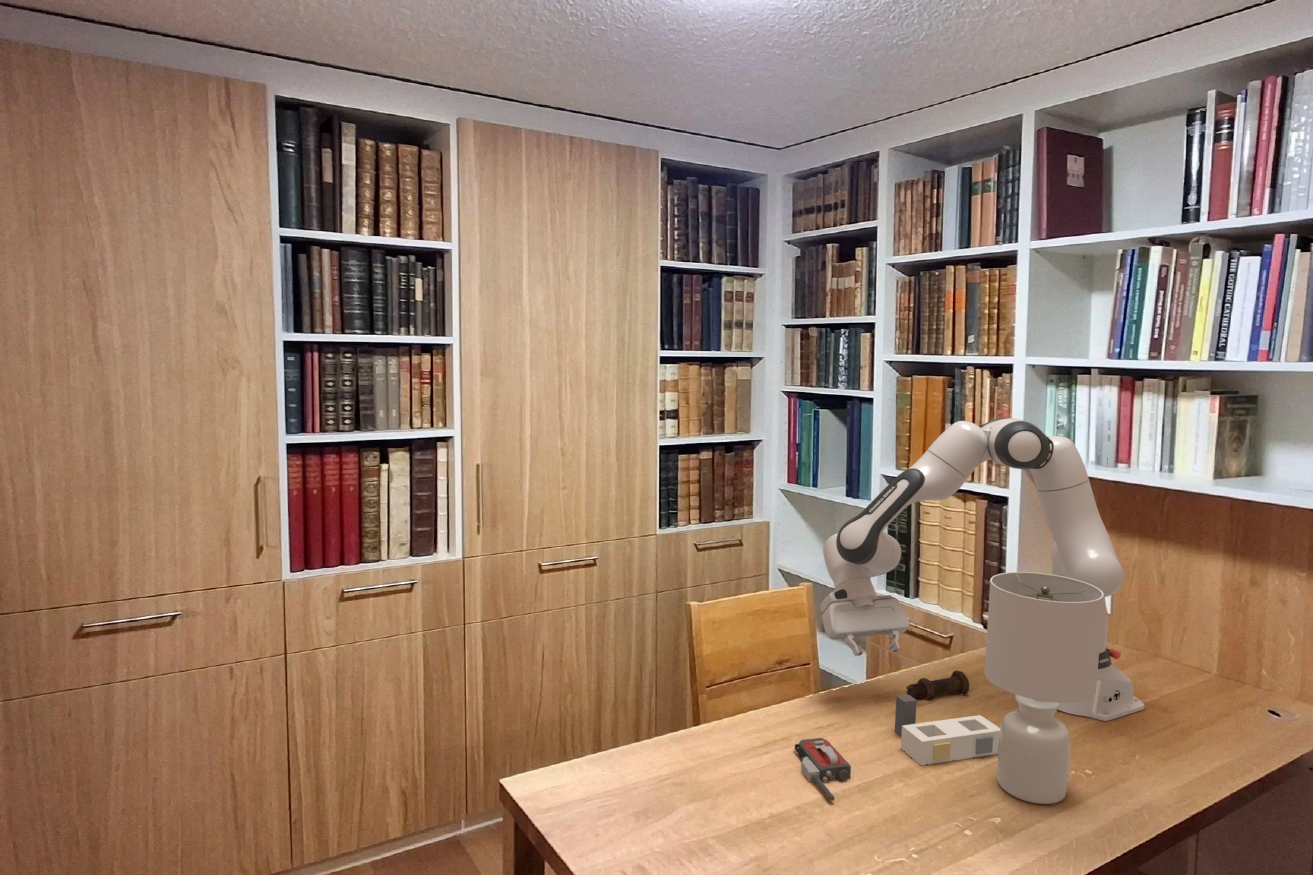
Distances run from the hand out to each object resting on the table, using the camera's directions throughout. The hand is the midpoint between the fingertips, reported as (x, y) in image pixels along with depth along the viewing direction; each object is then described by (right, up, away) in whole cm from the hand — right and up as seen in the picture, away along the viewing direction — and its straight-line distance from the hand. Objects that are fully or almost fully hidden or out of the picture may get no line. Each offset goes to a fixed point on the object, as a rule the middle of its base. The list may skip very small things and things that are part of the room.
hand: (877, 652), depth 183 cm
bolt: (+17, -13, +10) cm, 24 cm away
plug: (+3, -15, -9) cm, 18 cm away
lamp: (+21, -18, -30) cm, 41 cm away
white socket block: (+11, -16, -16) cm, 25 cm away
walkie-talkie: (-17, -17, -26) cm, 36 cm away
